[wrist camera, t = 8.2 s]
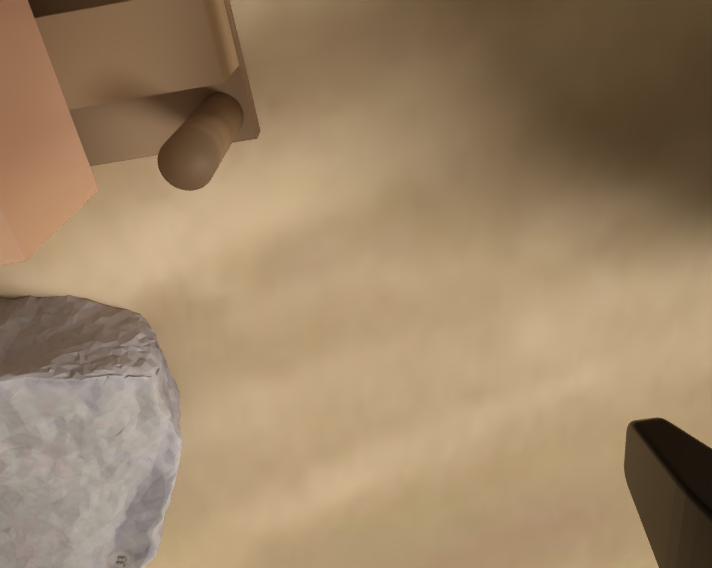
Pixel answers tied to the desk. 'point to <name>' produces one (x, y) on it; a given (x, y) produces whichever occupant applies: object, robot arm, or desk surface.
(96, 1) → the rack
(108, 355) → the stone block
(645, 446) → the robot arm
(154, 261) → the desk surface
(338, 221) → the desk surface
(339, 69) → the desk surface
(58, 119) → the clay bar
